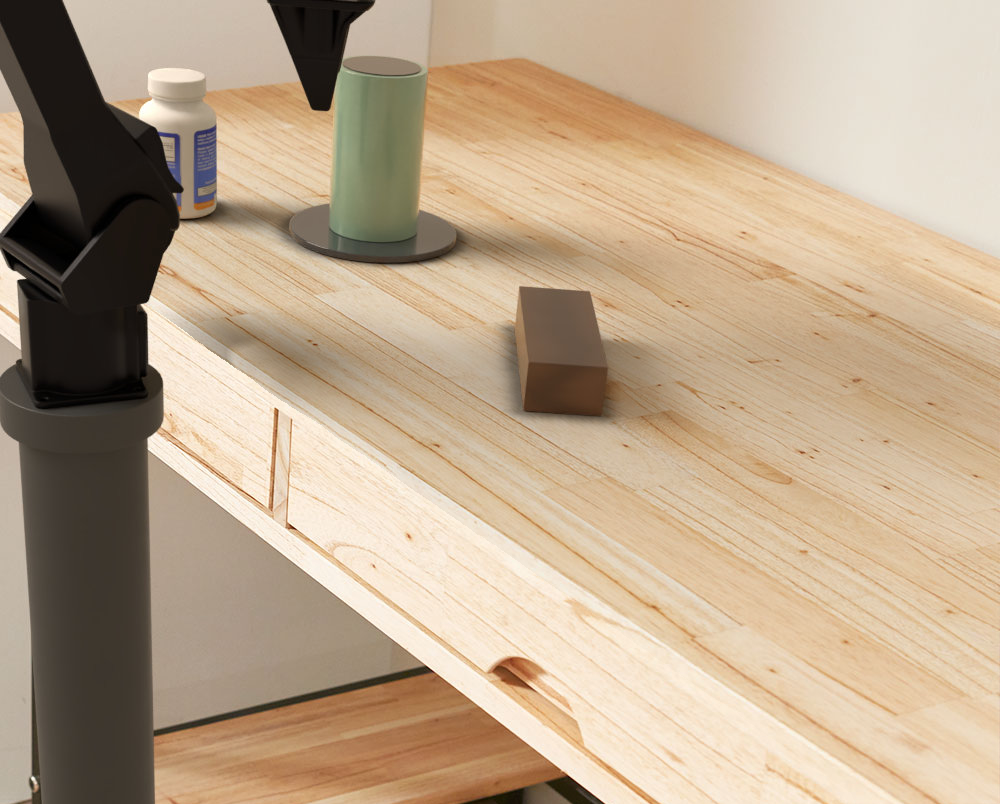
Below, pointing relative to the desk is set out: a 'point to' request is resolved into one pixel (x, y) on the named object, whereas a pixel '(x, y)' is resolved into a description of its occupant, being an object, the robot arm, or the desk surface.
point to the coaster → (426, 244)
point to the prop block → (559, 352)
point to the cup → (377, 148)
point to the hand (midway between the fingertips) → (326, 90)
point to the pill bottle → (185, 136)
